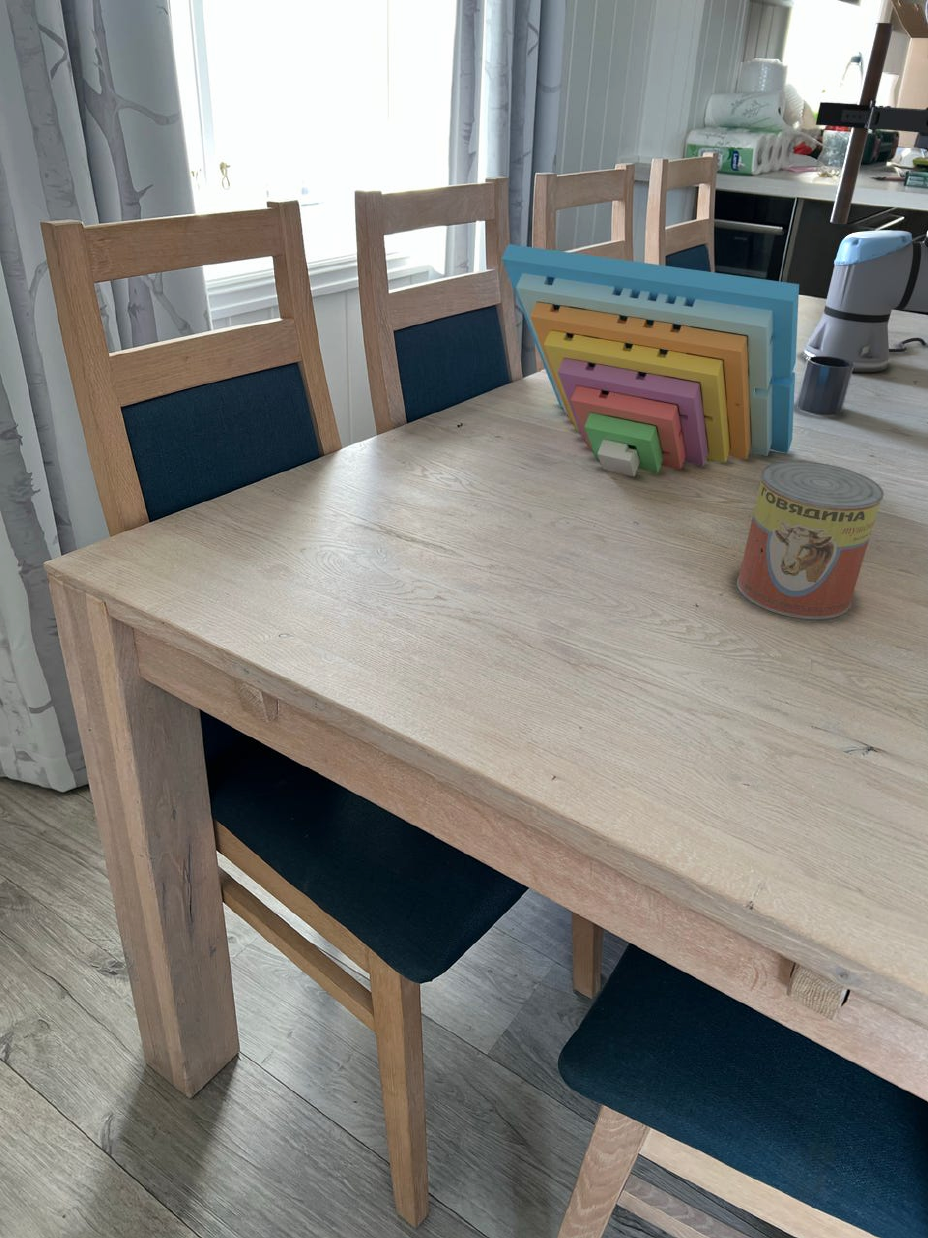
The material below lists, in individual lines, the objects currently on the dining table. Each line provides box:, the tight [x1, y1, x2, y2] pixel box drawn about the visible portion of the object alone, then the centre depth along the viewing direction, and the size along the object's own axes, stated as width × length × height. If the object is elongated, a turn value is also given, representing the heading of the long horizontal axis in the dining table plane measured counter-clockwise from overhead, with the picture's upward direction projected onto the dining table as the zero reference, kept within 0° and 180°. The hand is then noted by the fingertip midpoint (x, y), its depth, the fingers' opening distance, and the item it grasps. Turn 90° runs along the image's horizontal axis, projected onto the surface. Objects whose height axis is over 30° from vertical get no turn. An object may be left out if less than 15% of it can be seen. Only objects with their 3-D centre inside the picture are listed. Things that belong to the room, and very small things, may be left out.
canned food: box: [736, 460, 885, 621], centre depth 93 cm, size 11×11×12 cm
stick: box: [829, 22, 895, 225], centre depth 127 cm, size 2×2×24 cm
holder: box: [795, 356, 854, 416], centre depth 149 cm, size 7×7×8 cm
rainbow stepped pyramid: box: [501, 243, 800, 478], centre depth 123 cm, size 35×18×35 cm
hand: (821, 113), depth 129 cm, fingers closed on stick, 2 cm apart
